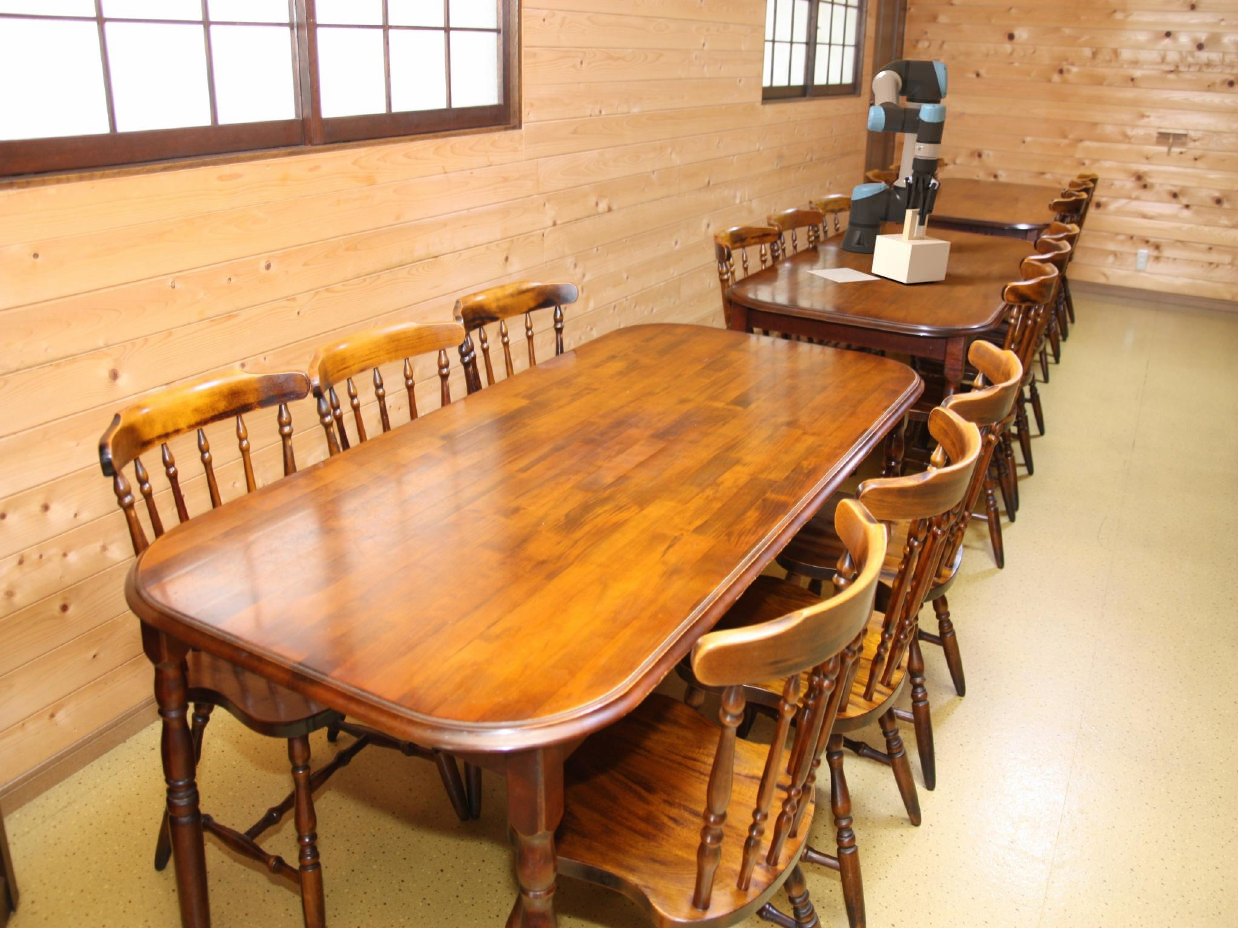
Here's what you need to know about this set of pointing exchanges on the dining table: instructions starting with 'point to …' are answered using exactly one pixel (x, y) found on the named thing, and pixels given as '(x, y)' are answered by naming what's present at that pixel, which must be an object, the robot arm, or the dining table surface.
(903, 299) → the dining table surface
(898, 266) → the cube with upright tab
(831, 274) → the mat
